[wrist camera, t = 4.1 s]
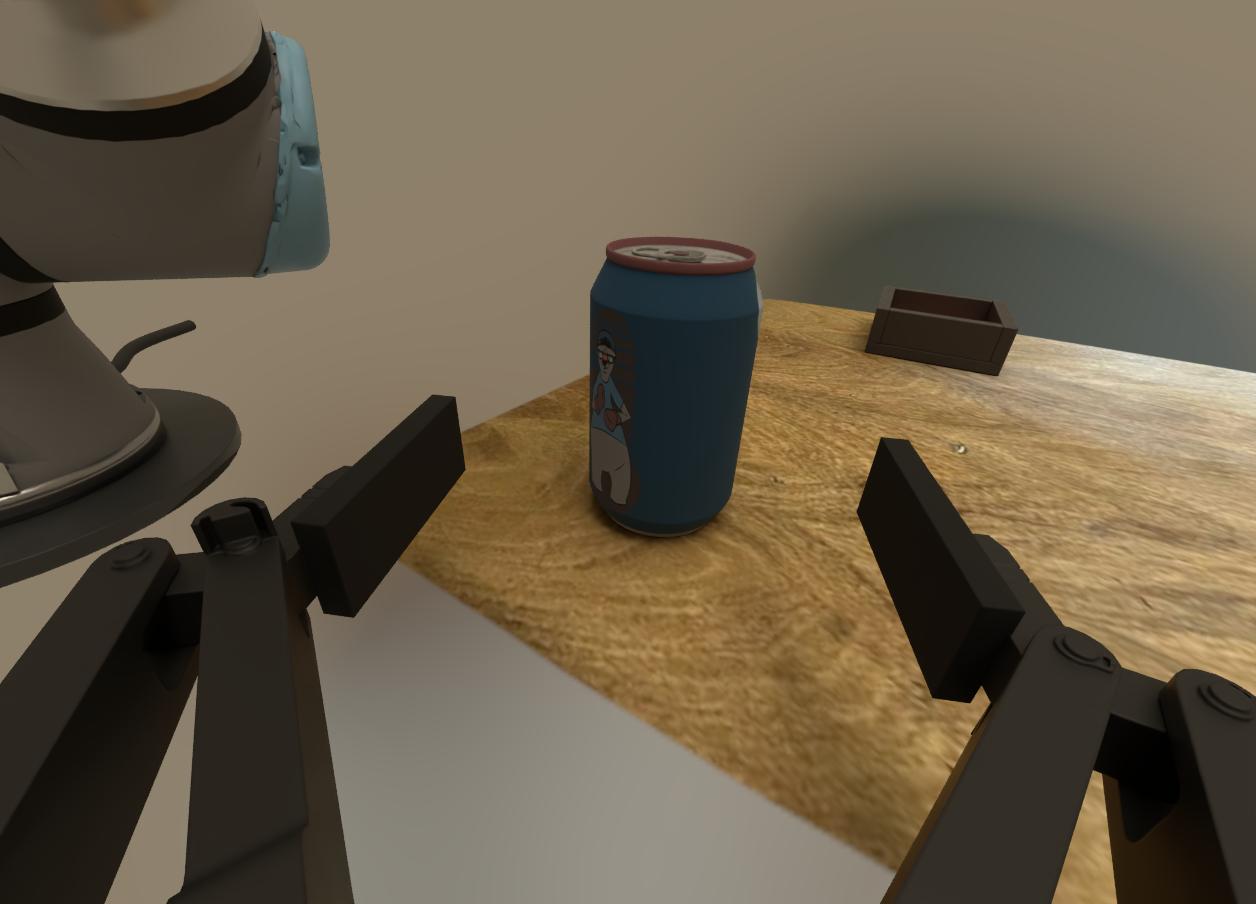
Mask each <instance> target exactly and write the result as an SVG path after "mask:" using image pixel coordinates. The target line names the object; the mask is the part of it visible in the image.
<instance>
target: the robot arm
mask: <svg viewBox="0 0 1256 904" xmlns="http://www.w3.org/2000/svg"><path fill="white" fill-rule="evenodd" d="M329 247H330V237H329V223H328V213H327V205H326V196H325V187H324V180H323V172H322V166H321V162H320V150H319V143H318V132H317V124H316V117H315V109H314V103H313V95H312V89H311V82H310V76H309V70H308V64H307V59H306V55H305V52H304V50H303V48H302V46H301V45H300V44H299V43H298V42H296V41H295V40H293V39H291V38H288V37H284V36H282V35H281V34H279V33H277V32H276V31H269V32H264V29H263V26H262V23H261V19H260V16H259V13H258V10H257V7H256V5H255V3H254V1H253V0H0V527H2V526H5V525H8V524H12V523H15V522H18V521H21V520H24V519H28V518H31V517H33V516H36V515H39V514H42V513H45V512H48V511H50V510H53V509H56V508H58V507H61V506H63V505H66V504H68V503H71V502H73V501H76V500H78V499H80V498H83V497H85V496H87V495H89V494H91V493H94V492H96V491H98V490H100V489H102V488H104V487H106V486H108V485H110V484H112V483H113V482H115V481H117V480H119V479H121V478H122V477H124V476H126V475H127V474H129V473H130V472H132V471H134V470H135V469H137V468H138V467H139V466H141V465H142V464H143V463H145V462H146V461H147V460H148V459H150V458H151V457H152V456H153V455H154V454H155V453H156V452H157V451H158V450H159V448H160V447H161V446H162V444H163V442H164V441H165V438H166V427H165V425H164V423H163V421H162V419H161V417H160V414H159V412H158V410H157V408H156V406H155V405H154V403H153V402H152V401H151V400H150V399H149V397H148V396H147V395H146V394H145V393H143V392H142V391H141V390H140V389H139V388H138V387H135V386H134V385H131V384H129V383H128V382H127V381H126V380H125V378H124V377H123V376H122V375H121V374H120V373H122V372H123V371H124V370H125V369H126V368H127V366H128V364H129V363H130V361H131V359H132V358H133V357H134V355H136V354H137V353H139V352H140V351H142V350H144V349H146V348H148V347H150V346H152V345H155V344H157V343H159V342H162V341H165V340H167V339H170V338H173V337H176V336H179V335H182V334H184V333H187V332H190V331H192V330H194V329H195V328H196V325H195V324H194V322H192V321H189V320H187V321H184V322H182V323H179V324H176V325H173V326H170V327H167V328H164V329H161V330H158V331H155V332H152V333H149V334H147V335H144V336H142V337H140V338H137V339H135V340H133V341H131V342H130V343H128V344H127V345H125V346H124V347H123V348H122V349H121V350H120V351H119V352H118V353H117V354H116V356H115V357H114V359H113V360H112V362H110V361H109V360H108V358H107V357H106V356H105V355H104V354H103V353H102V352H101V351H100V350H99V349H98V348H97V347H96V346H95V345H94V344H93V342H91V340H90V339H89V338H88V337H87V336H86V335H85V334H84V333H83V332H82V331H81V330H80V329H79V328H78V327H77V326H76V325H75V323H74V322H73V320H72V319H71V317H70V315H69V314H68V312H67V310H66V308H65V306H64V304H63V302H62V301H61V299H60V297H59V295H58V293H57V291H56V289H55V287H54V285H53V283H54V282H83V281H115V280H116V281H117V280H153V279H187V278H220V277H221V278H222V277H254V278H260V277H264V276H266V275H267V274H271V273H282V272H291V271H301V270H309V269H312V268H315V267H317V266H318V265H320V264H321V263H322V262H323V261H324V260H325V259H326V257H327V255H328V253H329ZM465 470H466V469H465V462H464V455H463V448H462V441H461V433H460V427H459V419H458V412H457V405H456V398H455V397H452V396H442V395H431V397H429V398H428V399H427V400H426V401H425V402H424V403H423V404H421V405H420V406H419V407H418V408H417V409H416V410H415V411H414V412H412V413H411V414H410V415H409V416H408V417H407V418H406V419H405V420H404V421H402V422H401V423H400V424H399V425H398V426H397V427H396V428H395V429H394V430H392V431H391V432H390V433H389V434H388V435H387V436H386V437H385V438H384V439H383V440H381V441H380V442H379V443H378V444H377V445H376V446H375V447H373V448H372V449H371V450H370V451H369V452H368V453H367V454H366V455H364V456H363V457H362V458H361V459H360V460H359V461H358V462H357V463H356V464H354V465H353V466H343V467H341V468H339V469H337V470H335V471H333V472H331V473H329V474H327V475H325V476H324V477H323V478H322V479H321V480H320V481H318V482H317V483H316V484H315V485H314V486H313V488H312V489H309V490H308V491H307V492H305V493H304V494H303V495H302V497H301V498H298V499H297V500H296V501H295V502H294V503H293V504H291V505H290V506H289V507H288V508H287V509H286V510H284V511H283V512H282V513H281V514H280V515H279V516H277V517H276V518H275V519H274V520H273V521H272V519H271V516H270V514H269V511H268V509H267V506H266V504H265V503H264V501H262V500H259V499H257V498H238V499H231V500H228V501H224V502H221V503H218V504H216V505H214V506H212V507H210V508H208V509H206V510H204V511H202V512H201V513H200V514H199V515H198V516H197V517H195V518H194V520H193V522H192V524H191V527H192V529H193V531H194V533H195V535H196V537H197V539H198V542H199V544H200V545H201V548H202V550H203V551H204V552H199V553H189V554H179V555H176V554H175V552H174V550H173V548H172V547H171V545H170V544H169V542H168V541H167V540H165V539H161V538H143V539H139V540H134V541H129V542H126V543H124V544H120V545H118V546H116V547H114V548H113V549H111V550H109V551H108V552H106V553H104V554H102V555H101V556H100V557H99V558H97V559H96V560H95V561H94V562H93V563H92V564H91V565H90V567H89V568H88V569H87V571H86V572H85V573H84V575H83V576H82V577H81V579H80V580H79V581H78V582H77V584H76V585H75V587H74V588H73V589H72V590H71V592H70V593H69V594H68V596H67V597H66V598H65V600H64V601H63V602H62V603H61V605H60V606H59V607H58V609H57V610H56V611H55V613H54V614H53V615H52V617H51V618H50V619H49V621H48V622H47V623H46V625H45V626H44V627H43V628H42V630H41V631H40V632H39V634H38V635H37V636H36V638H35V639H34V640H33V642H32V643H31V644H30V646H29V647H28V648H27V650H26V651H25V652H24V653H23V655H22V656H21V657H20V659H19V660H18V661H17V663H16V664H15V665H14V667H13V668H12V669H11V670H10V672H9V673H8V674H7V676H6V677H5V678H4V680H3V681H2V682H1V684H0V904H104V903H105V901H106V898H107V896H108V893H109V891H110V888H111V886H112V884H113V881H114V878H115V876H116V874H117V871H118V869H119V867H120V864H121V862H122V859H123V857H124V854H125V852H126V849H127V847H128V845H129V842H130V840H131V837H132V835H133V832H134V830H135V827H136V825H137V823H138V820H139V818H140V815H141V813H142V810H143V808H144V805H145V803H146V800H147V798H148V796H149V793H150V791H151V788H152V786H153V783H154V781H155V778H156V776H157V774H158V771H159V769H160V766H161V764H162V761H163V759H164V756H165V754H166V752H167V749H168V747H169V744H170V742H171V739H172V737H173V734H174V732H175V730H176V727H177V724H178V722H179V720H180V717H181V715H182V712H183V710H184V708H185V705H186V702H187V700H188V698H189V695H190V693H191V690H192V688H193V686H194V683H195V681H196V678H197V676H198V683H197V697H196V712H195V713H196V714H195V728H194V743H193V758H192V774H191V788H190V789H191V790H190V803H189V819H188V834H187V849H186V864H185V876H184V883H183V886H182V889H181V891H180V892H179V893H178V894H176V895H174V896H173V897H171V898H170V899H168V902H167V903H166V904H354V899H353V893H352V887H351V880H350V874H349V868H348V861H347V854H346V848H345V841H344V835H343V829H342V822H341V816H340V809H339V803H338V796H337V789H336V783H335V777H334V770H333V763H332V757H331V752H330V744H329V738H328V731H327V725H326V718H325V713H324V706H323V699H322V692H321V686H320V679H319V674H318V666H317V660H316V653H315V648H314V640H313V634H312V627H311V621H310V617H309V614H308V612H307V609H306V608H307V607H308V606H309V604H310V603H311V602H312V601H313V600H314V599H315V598H316V596H317V597H318V599H319V602H320V605H321V607H322V610H323V613H324V614H331V615H338V616H345V617H352V618H354V617H355V616H356V614H357V613H358V612H359V610H360V609H361V608H362V606H363V605H364V604H365V602H366V601H367V600H368V598H369V597H370V596H371V594H372V593H373V592H374V591H375V589H376V588H377V586H378V585H379V584H380V583H381V581H382V580H383V579H384V577H385V576H386V575H387V573H388V572H389V571H390V569H391V568H392V567H393V565H394V564H395V563H396V561H397V560H398V559H399V557H400V556H401V555H402V553H403V552H404V551H405V549H406V548H407V547H408V545H409V544H410V543H411V541H412V540H413V539H414V537H415V536H416V535H417V533H418V532H419V531H420V529H421V528H422V527H423V525H424V524H425V523H426V521H427V520H428V519H429V517H430V516H431V515H432V514H433V512H434V511H435V510H436V508H437V507H438V506H439V504H440V503H441V502H442V500H443V499H444V498H445V496H446V495H447V494H448V492H449V491H450V490H451V488H452V487H453V486H454V484H455V483H456V482H457V480H458V479H459V478H460V476H461V475H462V474H463V472H464V471H465ZM857 514H858V517H859V519H860V522H861V524H862V526H863V529H864V531H865V534H866V536H867V539H868V541H869V544H870V546H871V548H872V551H873V553H874V556H875V558H876V561H877V563H878V566H879V568H880V571H881V573H882V575H883V578H884V580H885V583H886V585H887V588H888V590H889V593H890V595H891V597H892V600H893V602H894V605H895V607H896V610H897V612H898V615H899V617H900V620H901V622H902V624H903V627H904V629H905V632H906V634H907V637H908V639H909V642H910V644H911V646H912V649H913V651H914V654H915V656H916V659H917V661H918V664H919V666H920V669H921V671H922V673H923V676H924V678H925V681H926V683H927V686H928V688H929V691H930V693H931V695H932V698H935V699H942V700H950V701H957V702H964V703H971V701H972V700H973V698H974V696H975V695H976V693H977V692H978V690H979V688H980V687H981V685H982V687H983V688H984V690H985V692H986V694H987V696H988V698H989V700H990V702H991V703H990V705H989V706H988V708H987V709H986V711H985V712H984V714H983V715H982V717H981V719H980V720H979V722H978V723H977V725H976V726H975V728H974V729H973V731H972V733H971V735H972V736H971V738H970V740H969V742H968V743H967V745H966V747H965V749H964V751H963V753H962V754H961V756H960V758H959V760H958V762H957V764H956V765H955V767H954V769H953V771H952V773H951V775H950V776H949V778H948V780H947V782H946V784H945V786H944V787H943V789H942V791H941V793H940V795H939V797H938V798H937V800H936V802H935V804H934V806H933V808H932V809H931V811H930V813H929V815H928V817H927V819H926V820H925V822H924V824H923V826H922V828H921V830H920V831H919V833H918V835H917V837H916V839H915V841H914V842H913V844H912V846H911V848H910V850H909V852H908V853H907V855H906V857H905V859H904V861H903V863H902V864H901V866H900V868H899V870H898V872H897V874H896V875H895V877H894V879H893V881H892V883H891V885H890V886H889V888H888V890H887V892H886V894H885V896H884V897H883V899H882V901H881V903H880V904H1051V903H1052V900H1053V896H1054V893H1055V890H1056V887H1057V884H1058V880H1059V877H1060V874H1061V871H1062V867H1063V864H1064V861H1065V858H1066V855H1067V851H1068V848H1069V845H1070V842H1071V839H1072V835H1073V832H1074V829H1075V826H1076V822H1077V819H1078V816H1079V813H1080V810H1081V806H1082V803H1083V800H1084V797H1085V794H1086V790H1087V787H1088V784H1089V781H1090V777H1091V774H1092V771H1093V770H1094V771H1097V772H1099V773H1102V777H1103V786H1104V794H1105V803H1106V811H1107V820H1108V828H1109V837H1110V845H1111V854H1112V862H1113V871H1114V879H1115V888H1116V897H1117V904H1256V697H1255V696H1254V695H1253V694H1251V693H1250V692H1248V691H1247V690H1245V689H1243V688H1242V687H1241V686H1239V685H1237V684H1235V683H1233V682H1231V681H1229V680H1227V679H1224V678H1222V677H1220V676H1218V675H1216V674H1212V673H1209V672H1205V671H1202V670H1198V669H1183V670H1181V671H1180V672H1178V673H1176V674H1175V675H1174V676H1173V677H1172V679H1171V680H1170V681H1169V682H1168V683H1166V682H1163V681H1160V680H1157V679H1154V678H1151V677H1148V676H1145V675H1143V674H1140V673H1137V672H1134V671H1131V670H1128V669H1125V668H1122V667H1121V665H1120V664H1119V662H1118V661H1117V659H1116V658H1115V656H1114V655H1113V654H1112V653H1111V652H1110V651H1109V650H1108V649H1107V648H1105V647H1104V646H1103V645H1102V644H1101V643H1099V642H1098V641H1096V640H1095V639H1093V638H1091V637H1090V636H1088V635H1086V634H1084V633H1082V632H1080V631H1077V630H1075V629H1072V628H1070V627H1065V626H1064V625H1063V624H1062V622H1061V621H1060V620H1059V618H1058V617H1057V615H1056V614H1055V613H1054V611H1053V610H1052V609H1051V607H1050V606H1049V605H1048V603H1047V602H1046V601H1045V599H1044V598H1043V597H1042V595H1041V594H1040V593H1039V591H1038V590H1037V589H1036V587H1035V586H1034V585H1033V583H1030V582H1029V580H1030V579H1029V578H1028V577H1027V575H1026V574H1025V573H1024V571H1023V570H1022V569H1020V566H1019V564H1018V563H1017V562H1016V560H1015V559H1014V558H1013V556H1012V555H1011V554H1010V552H1009V551H1008V550H1007V549H1006V548H1004V547H1003V546H1002V545H1000V544H999V543H998V542H997V541H995V540H994V539H993V538H991V537H990V536H989V535H981V534H972V532H971V531H970V529H969V528H968V527H967V525H966V524H965V522H964V521H963V519H962V518H961V516H960V515H959V513H958V512H957V510H956V509H955V508H954V506H953V505H952V503H951V502H950V500H949V499H948V497H947V496H946V494H945V493H944V491H943V490H942V489H941V487H940V486H939V484H938V483H937V481H936V480H935V478H934V477H933V475H932V474H931V473H930V471H929V470H928V468H927V467H926V465H925V464H924V462H923V461H922V459H921V458H920V456H919V455H918V454H917V452H916V451H915V449H914V448H913V446H912V445H911V443H910V442H909V440H904V439H894V438H883V437H881V439H880V442H879V445H878V448H877V452H876V455H875V458H874V461H873V464H872V467H871V470H870V473H869V476H868V479H867V482H866V485H865V488H864V491H863V494H862V497H861V500H860V503H859V506H858V509H857Z"/></svg>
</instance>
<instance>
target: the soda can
mask: <svg viewBox="0 0 1256 904" xmlns="http://www.w3.org/2000/svg"><path fill="white" fill-rule="evenodd" d="M606 256H607V259H606V261H605V263H604V265H603V267H602V269H601V271H600V273H599V275H598V277H597V279H596V281H595V283H594V285H593V287H592V289H591V294H590V440H589V482H590V486H591V489H592V491H593V493H594V495H595V497H596V498H597V500H598V501H599V503H600V504H601V506H602V507H603V508H604V510H605V511H606V512H607V514H608V515H609V516H610V517H611V518H612V519H613V520H614V521H615V522H616V523H618V524H619V525H621V526H622V527H624V528H626V529H628V530H630V531H633V532H636V533H639V534H643V535H647V536H654V537H675V536H681V535H685V534H689V533H692V532H694V531H696V530H698V529H700V528H702V527H703V526H704V525H705V524H706V523H708V522H709V521H710V520H711V519H712V518H713V517H714V516H715V515H716V514H718V513H719V512H720V511H721V509H722V508H723V507H724V506H725V505H726V503H727V502H728V500H729V498H730V496H731V492H732V487H733V481H734V475H735V470H736V464H737V458H738V452H739V446H740V440H741V435H742V429H743V423H744V417H745V411H746V405H747V400H748V394H749V388H750V382H751V376H752V370H753V364H754V359H755V353H756V347H757V341H758V335H759V329H760V324H761V318H762V312H763V306H764V301H763V297H762V294H761V291H760V288H759V284H758V281H757V278H756V275H755V272H754V269H753V265H754V263H755V258H756V255H755V254H754V252H752V251H751V250H749V249H747V248H744V247H741V246H738V245H734V244H730V243H726V242H721V241H715V240H705V239H694V238H678V237H638V238H627V239H621V240H616V241H613V242H611V243H609V244H608V245H607V247H606Z"/></svg>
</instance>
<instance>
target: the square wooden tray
mask: <svg viewBox="0 0 1256 904" xmlns="http://www.w3.org/2000/svg"><path fill="white" fill-rule="evenodd" d="M1017 331H1018V328H1017V326H1016V324H1015V322H1014V320H1013V318H1012V316H1011V314H1010V312H1009V310H1008V308H1007V306H1006V304H1005V302H1004V301H1000V300H992V299H985V298H978V297H970V296H962V295H955V294H947V293H940V292H932V291H925V290H917V289H910V288H902V287H895V286H888V285H885V288H884V290H883V293H882V296H881V299H880V301H879V304H878V307H877V310H876V313H875V317H874V320H873V324H872V327H871V331H870V335H869V338H868V342H867V345H866V349H865V352H868V353H873V354H879V355H885V356H890V357H896V358H901V359H907V360H912V361H918V362H923V363H929V364H935V365H940V366H946V367H951V368H957V369H962V370H968V371H973V372H979V373H985V374H990V375H996V376H998V375H999V373H1000V371H1001V368H1002V366H1003V364H1004V362H1005V359H1006V357H1007V355H1008V352H1009V350H1010V348H1011V345H1012V343H1013V341H1014V338H1015V336H1016V334H1017Z"/></svg>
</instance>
